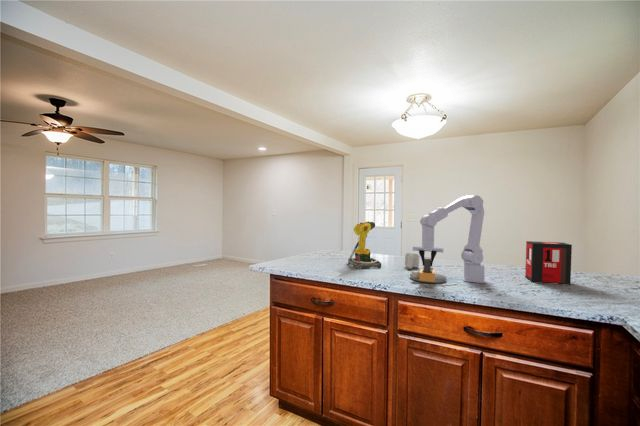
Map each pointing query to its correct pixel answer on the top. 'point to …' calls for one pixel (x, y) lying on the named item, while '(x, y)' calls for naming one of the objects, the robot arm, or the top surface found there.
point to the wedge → (427, 265)
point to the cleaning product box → (548, 262)
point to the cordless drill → (363, 248)
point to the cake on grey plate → (438, 279)
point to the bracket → (424, 275)
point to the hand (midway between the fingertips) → (427, 265)
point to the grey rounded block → (412, 260)
